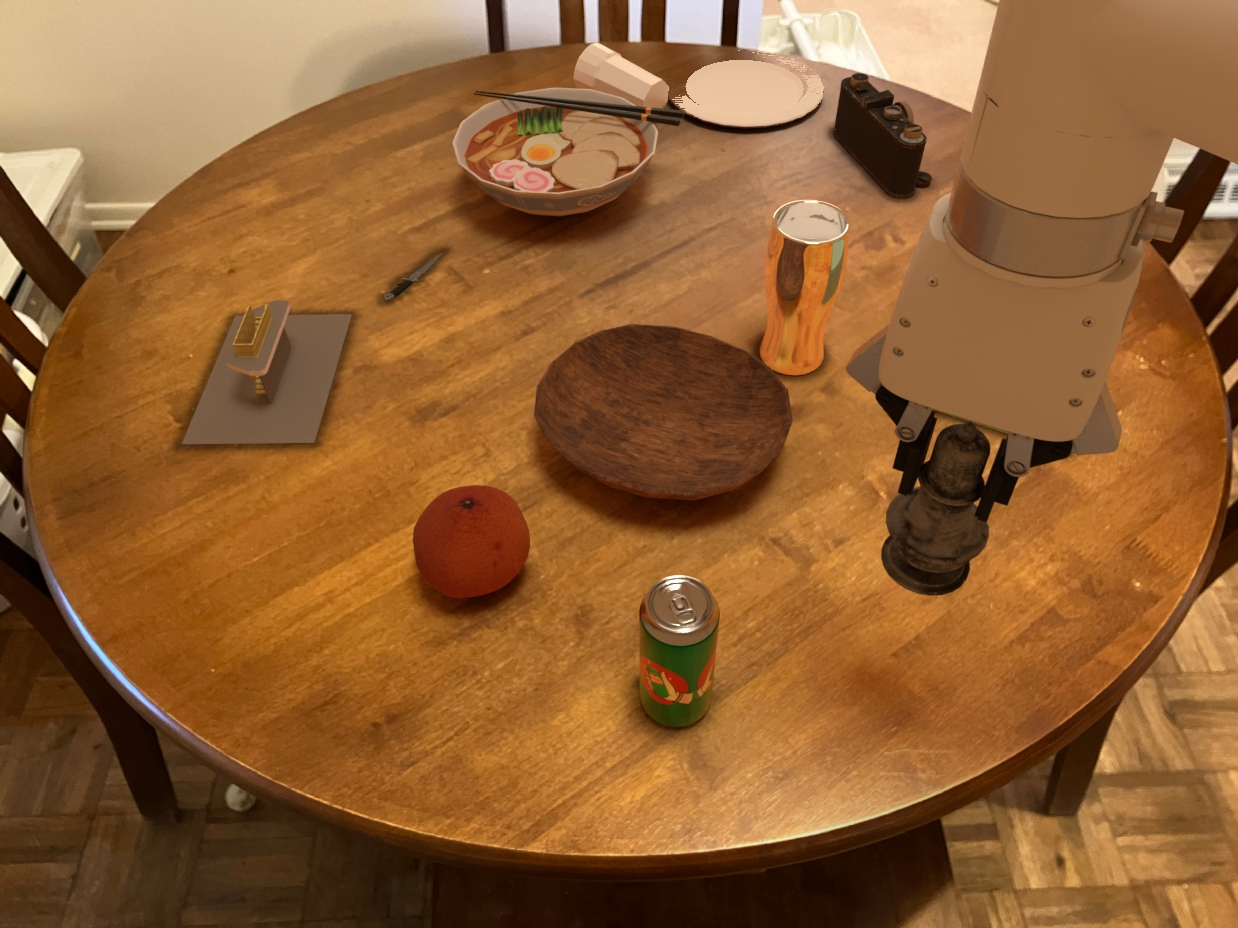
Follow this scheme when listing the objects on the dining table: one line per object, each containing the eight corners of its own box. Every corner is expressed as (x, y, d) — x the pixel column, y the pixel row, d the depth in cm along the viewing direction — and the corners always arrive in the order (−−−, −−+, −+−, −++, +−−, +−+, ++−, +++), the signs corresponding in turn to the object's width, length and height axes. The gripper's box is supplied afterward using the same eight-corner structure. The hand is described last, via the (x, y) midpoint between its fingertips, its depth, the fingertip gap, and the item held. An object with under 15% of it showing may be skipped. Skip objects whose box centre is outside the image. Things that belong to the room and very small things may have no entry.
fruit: (504, 509, 81) (493, 443, 75) (550, 586, 75) (542, 521, 69) (403, 550, 78) (384, 485, 72) (444, 633, 73) (426, 570, 67)
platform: (181, 444, 86) (153, 391, 82) (235, 315, 98) (214, 262, 94) (314, 442, 86) (294, 389, 81) (352, 314, 98) (337, 260, 93)
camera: (941, 191, 111) (958, 126, 105) (889, 202, 110) (903, 137, 104) (873, 122, 122) (885, 60, 116) (825, 132, 121) (834, 69, 115)
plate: (850, 85, 129) (852, 73, 128) (775, 154, 118) (776, 141, 117) (716, 48, 137) (716, 36, 136) (633, 108, 126) (633, 96, 125)
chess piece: (933, 617, 57) (984, 481, 48) (856, 556, 60) (889, 418, 51) (994, 563, 59) (1053, 424, 50) (916, 508, 62) (959, 368, 53)
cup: (634, 100, 118) (568, 68, 122) (644, 137, 124) (581, 105, 128) (667, 62, 119) (600, 31, 123) (676, 101, 125) (612, 70, 129)
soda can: (693, 657, 71) (700, 559, 62) (722, 716, 68) (734, 622, 59) (629, 680, 70) (626, 584, 61) (656, 741, 67) (658, 649, 58)
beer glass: (795, 390, 90) (816, 255, 78) (739, 353, 93) (753, 220, 82) (842, 355, 93) (870, 221, 82) (787, 321, 96) (806, 189, 85)
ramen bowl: (418, 231, 108) (405, 165, 102) (499, 131, 122) (491, 68, 116) (632, 271, 102) (631, 204, 96) (690, 161, 117) (692, 96, 111)
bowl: (727, 569, 76) (732, 530, 72) (495, 471, 84) (489, 431, 80) (819, 414, 88) (827, 373, 84) (608, 339, 95) (606, 299, 91)
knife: (443, 250, 106) (442, 246, 105) (455, 255, 105) (454, 251, 105) (376, 298, 100) (375, 295, 100) (389, 304, 100) (388, 300, 99)
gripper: (1264, 208, 40) (1113, 493, 54) (877, 127, 46) (828, 405, 60) (1250, 310, 36) (1090, 593, 50) (824, 207, 42) (785, 487, 55)
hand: (948, 488), depth 54 cm, fingers closed on chess piece, 3 cm apart
